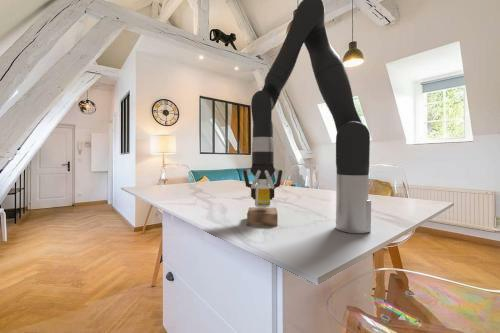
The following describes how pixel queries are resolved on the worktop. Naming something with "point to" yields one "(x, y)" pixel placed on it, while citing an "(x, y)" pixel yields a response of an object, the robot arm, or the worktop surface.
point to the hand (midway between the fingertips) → (262, 199)
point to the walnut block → (262, 216)
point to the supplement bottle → (262, 193)
